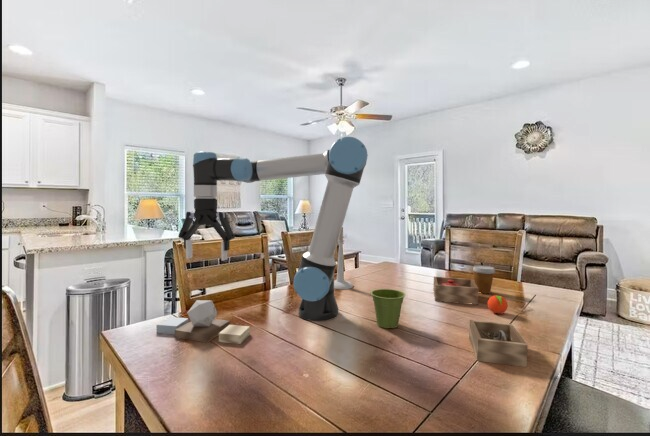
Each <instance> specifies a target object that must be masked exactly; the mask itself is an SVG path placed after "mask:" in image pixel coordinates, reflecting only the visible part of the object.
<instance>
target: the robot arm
mask: <svg viewBox="0 0 650 436" xmlns="http://www.w3.org/2000/svg"><path fill="white" fill-rule="evenodd" d="M368 156H369V155H368V150H367V146H366V145H365V144H364V143H363V141H361V140H359V139H358V138H356V137H353V136H344V137H340V138H338V139H337V140H335V141H334V142H333V144H332V145H331V146H330V149H326V151H325V152H324V153H315V154H307V155H299V156H297V155H296V156H288V157H279V158H272V159H271V158H269V159H260V160H253V161H250V159H249V158H247V157H246V158H243V157H233V158H229V157H228V158H227V157H225V158H221V157H220V158H218V157H217V153H215V152H212V151H196V152H195V153H194V154H193V159H192V160H193V161H192V169H193V197H194V199H193V207H194V211H186V213H185V219H184V222H183V224H182V225H181V229H180V230H179V233H178V236H177V237H178V238H179V239H183V249H185V259H186V260H189V259H192V258H194V257H193V254H194V253H193V252H194V251H193V247H194V246H193V239H192V236H193V235H194V234H195V232H196V231H197V230H198V229H199V227H200V226H204V225H205V226H211V227H212V228H213V229H214V230H215V232H216V233H217V234H218V235H219V237H220V238H221V239H222V241H221V242H220V244H221V246H220V249H221V250H220V253H221V254H220V256H221V259H220V260H221V261H226V260H227V261H228V251H230V241H231V240H234V239H235V237H236V236H235V233H234V232H233V230H232V228H231V226H230V223H229V221H228V219H227V215H226V212H225V211H221V212H218V211H217V210H218V199H217V198H216V197H218V181H220V182H221V181H230V182H231V181H232V182H233V181H234V182H242V183H243V182H244V183H245V184H246V183H247V184H248V183H249V184H251V183H255V182H261V181H268V180H269V181H272V180H280V179H291V178H300V177H301V178H302V177H309V176H310V177H311V176H319V175H324V176H325V177H326V179H327V184H326V187H325V191H324V193H323V194H324V195H323V198H322V201H321V205H320V208H319V213H318V215H317V218H316V224H315V227H314V231H313V233H312V238H311V241H310V245H309V248H308V250H307V251H306V252H303V253H302V255H301V260H300V262H299V263H300V264H299V267H298V270H297V272H295V274H294V276H293V281H292V282H293V289H294V291H295V293H296V294H297V296H299V298H301V300H300V303H299V306H298V317H300V318H302V319H304V320H308V321H313V322H325V321H330V320H334V319H335V318H337V317H338V316H339V306H338V303H337V299H336V296H335V289H334V280H335V270H336V265H337V262H336V260H335V253H336V249H337V246H338V240H339V236H340V233H341V229H342V227H343V226H344V222H345V218H346V216H347V212H348V208H349V204H350V201H351V198H352V194H353V191H354V188H355V187H358V186H359V185H360V184H361V182H362V181H361V180H362V177H363V173H364V170H365V167H366V165H367V161H368ZM194 219H195V220H194ZM218 219H219V221H218ZM193 220H194V221H193ZM191 224H192V225H191Z"/></svg>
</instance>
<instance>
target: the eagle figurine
mask: <svg viewBox="0 0 650 436" xmlns="http://www.w3.org/2000/svg"><path fill="white" fill-rule="evenodd" d="M481 332H482V334H483V335H484V336H486V337H487V338H488V339H491V340H500V341H506V340H507V339H506V335H505V333H504V332H503V331H502V330H500V331H499V333H498V334H499V337H496V333H494V335H493V337H492V335H491V332H490V331H489V332H488V335H487V334H485V333H484V332H483V331H482V330H481Z"/></svg>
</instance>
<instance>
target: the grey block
mask: <svg viewBox="0 0 650 436" xmlns="http://www.w3.org/2000/svg"><path fill="white" fill-rule="evenodd" d="M189 322H190V318H189V317H188V318H187V317H174V316H173V317H172V316H169V317H167V318H166V319H163V320H162V321H160V322H159V323H157V324H156V325H155V326H156V333H157V334H169V335H175V329H177V328H179V327H181V326H183V325H185V324H187V323H189Z"/></svg>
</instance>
